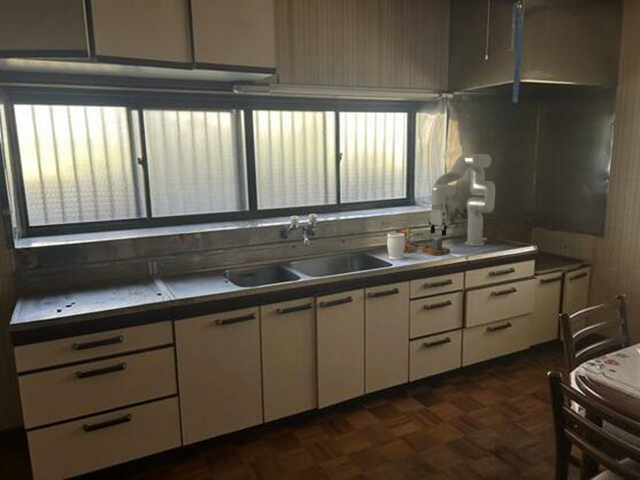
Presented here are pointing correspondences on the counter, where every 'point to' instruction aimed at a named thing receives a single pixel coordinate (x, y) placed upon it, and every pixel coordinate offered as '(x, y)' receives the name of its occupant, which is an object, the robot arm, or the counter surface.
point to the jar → (395, 245)
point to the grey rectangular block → (437, 244)
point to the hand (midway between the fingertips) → (438, 234)
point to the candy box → (405, 238)
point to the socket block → (431, 250)
